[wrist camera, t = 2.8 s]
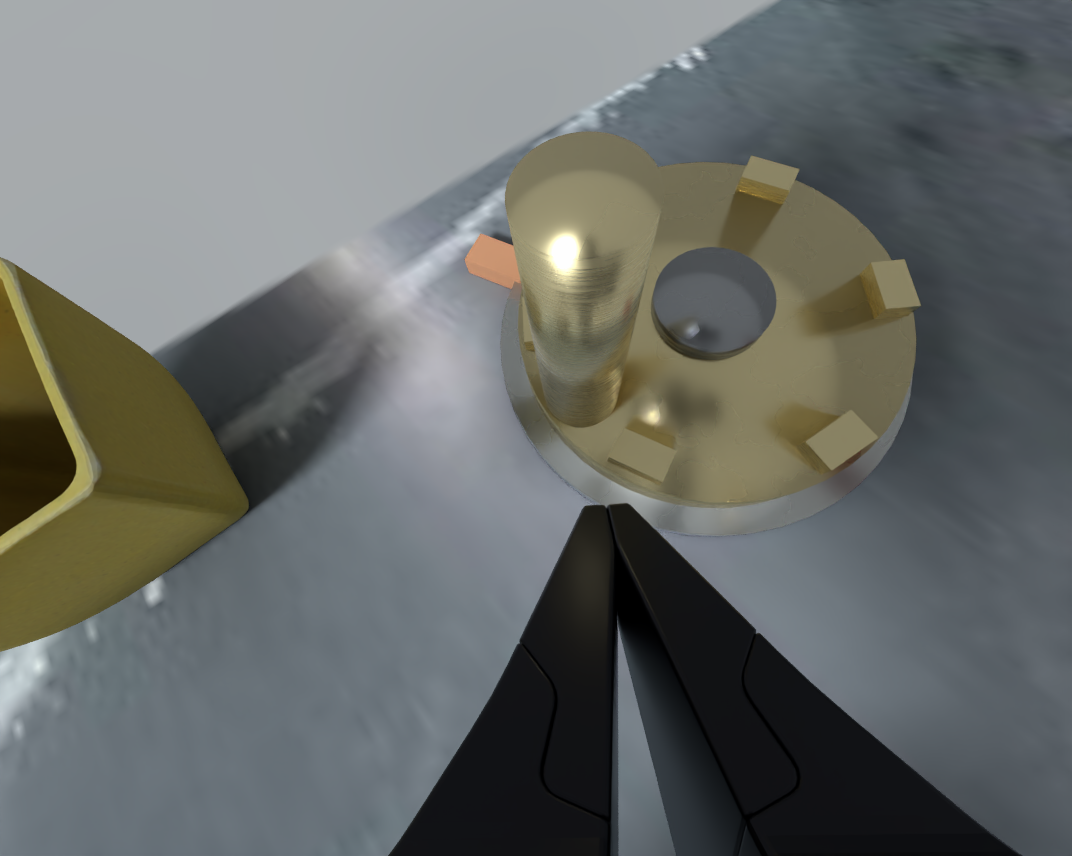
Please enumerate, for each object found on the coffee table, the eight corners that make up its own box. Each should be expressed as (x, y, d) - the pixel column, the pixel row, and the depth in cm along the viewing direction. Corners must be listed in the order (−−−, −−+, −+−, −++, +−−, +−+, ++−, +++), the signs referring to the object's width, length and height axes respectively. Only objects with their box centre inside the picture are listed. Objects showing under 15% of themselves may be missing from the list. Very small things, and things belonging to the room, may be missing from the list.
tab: (537, 267, 22) (535, 253, 21) (522, 293, 21) (520, 280, 21) (484, 247, 22) (480, 233, 22) (469, 272, 22) (464, 259, 21)
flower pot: (312, 519, 19) (96, 481, 11) (130, 652, 18) (-268, 729, 10) (229, 373, 22) (1, 248, 13) (66, 484, 21) (-294, 426, 12)
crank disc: (720, 141, 22) (853, -259, 11) (974, 369, 18) (1587, 64, 7) (461, 299, 21) (335, 13, 10) (664, 588, 16) (830, 632, 6)
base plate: (854, 608, 16) (926, 619, 13) (443, 449, 20) (415, 424, 16) (930, 238, 20) (998, 174, 17) (579, 157, 24) (579, 90, 20)
